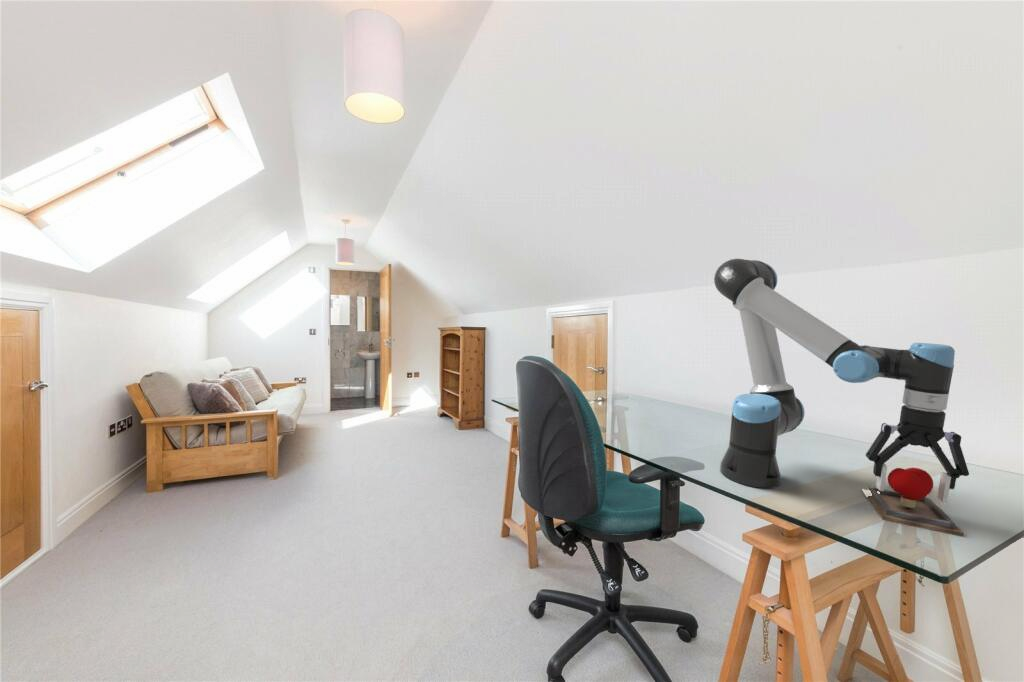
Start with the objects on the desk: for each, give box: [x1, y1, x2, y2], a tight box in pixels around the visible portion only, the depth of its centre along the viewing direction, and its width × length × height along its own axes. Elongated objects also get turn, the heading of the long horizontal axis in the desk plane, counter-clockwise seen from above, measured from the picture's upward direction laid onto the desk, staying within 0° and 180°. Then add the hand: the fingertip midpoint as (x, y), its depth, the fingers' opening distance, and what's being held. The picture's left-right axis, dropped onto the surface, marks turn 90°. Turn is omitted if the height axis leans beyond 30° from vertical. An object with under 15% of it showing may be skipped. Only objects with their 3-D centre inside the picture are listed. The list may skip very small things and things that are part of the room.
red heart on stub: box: [887, 467, 934, 509], centre depth 101 cm, size 9×7×10 cm
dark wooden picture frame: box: [866, 486, 965, 537], centre depth 101 cm, size 14×16×2 cm
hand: (910, 494), depth 101 cm, fingers open, 11 cm apart
